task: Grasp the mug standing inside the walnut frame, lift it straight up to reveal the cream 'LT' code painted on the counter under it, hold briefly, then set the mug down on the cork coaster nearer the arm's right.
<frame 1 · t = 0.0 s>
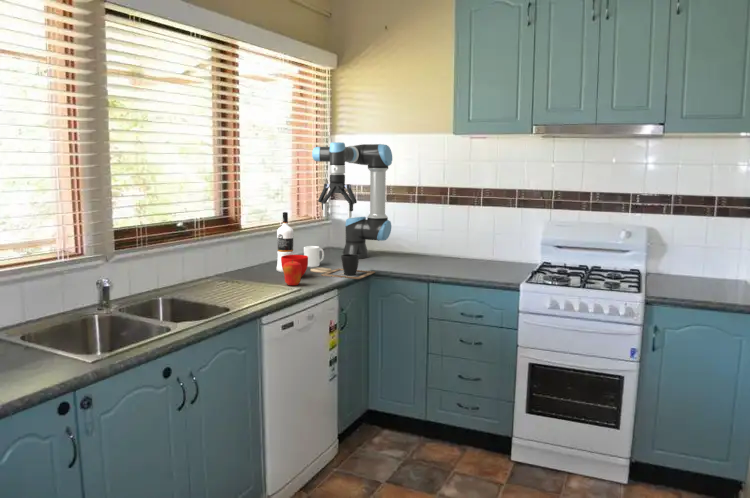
hand: (337, 217, 311), 28 cm above the worktop, fingers open, 13 cm apart
vodka: (285, 271, 318), on the worktop
code board: (348, 274, 311), on the worktop
apple: (292, 285, 284), on the worktop
mug: (348, 274, 311), on the worktop, touching code board
coaster: (321, 270, 320), on the worktop
cup: (314, 265, 335), on the worktop
ceramic cup: (296, 276, 304), on the worktop
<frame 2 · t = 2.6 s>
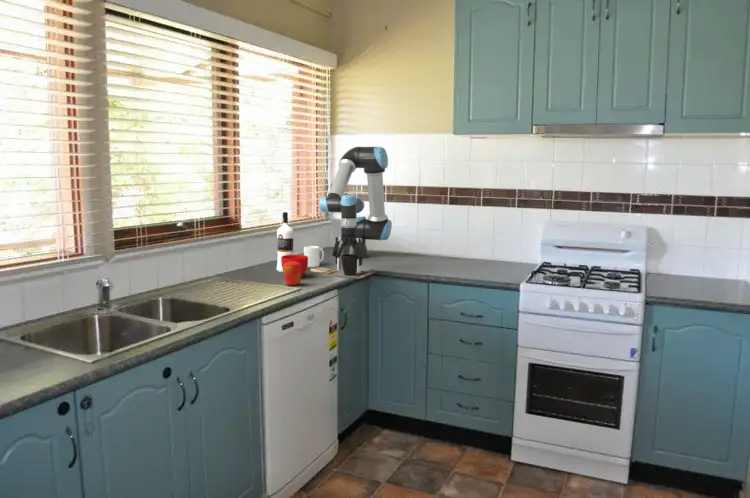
hand: (348, 271, 311), 1 cm above the worktop, fingers closed on mug, 10 cm apart
mug: (348, 274, 311), on the worktop, touching code board, gripper
everything else where it was.
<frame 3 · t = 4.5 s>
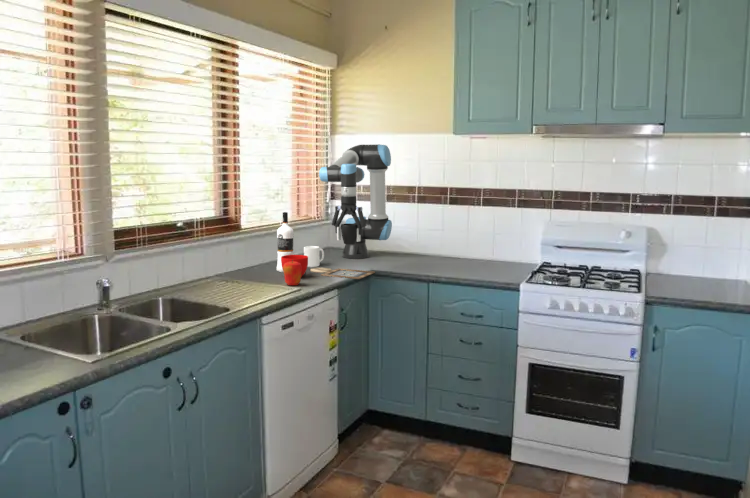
hand: (348, 240, 309), 17 cm above the worktop, fingers closed on mug, 10 cm apart
mug: (347, 243, 310), point 15 cm above the worktop, touching gripper
everything else where it was.
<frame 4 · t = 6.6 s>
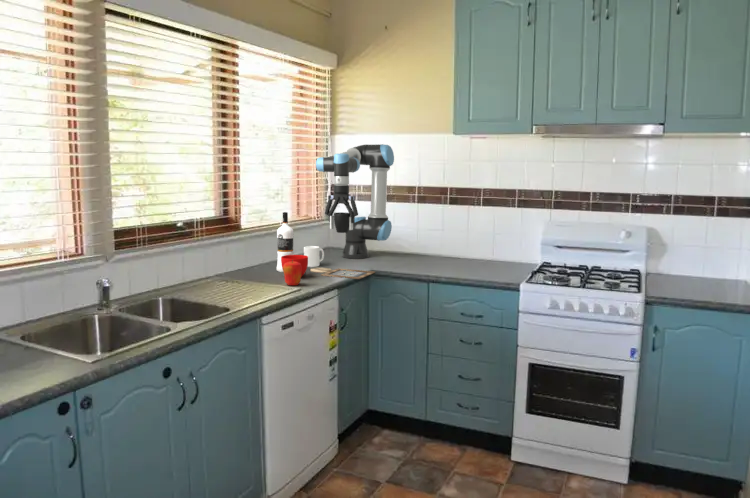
hand: (341, 229, 314), 22 cm above the worktop, fingers closed on mug, 10 cm apart
mug: (340, 232, 315), point 20 cm above the worktop, touching gripper
everything else where it was.
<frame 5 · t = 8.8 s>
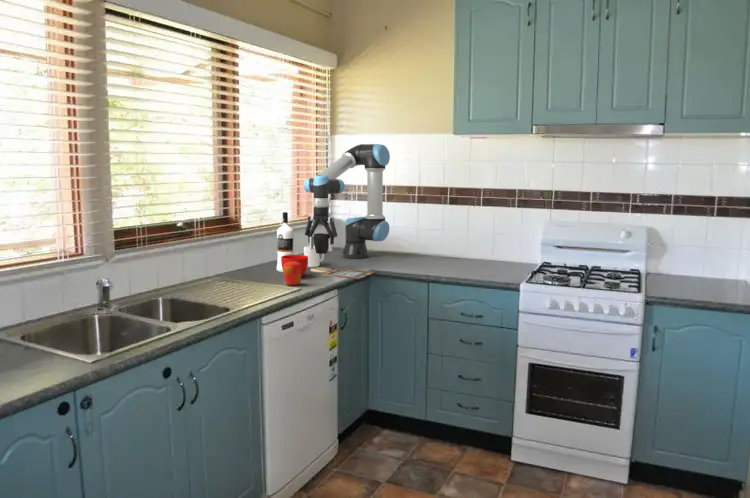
hand: (320, 250, 318), 11 cm above the worktop, fingers closed on mug, 10 cm apart
mug: (320, 252, 318), point 9 cm above the worktop, touching gripper
everything else where it was.
when the fingers open (3 cm above the worktop, at t = 10.7 s): mug drops 1 cm, resting on coaster.
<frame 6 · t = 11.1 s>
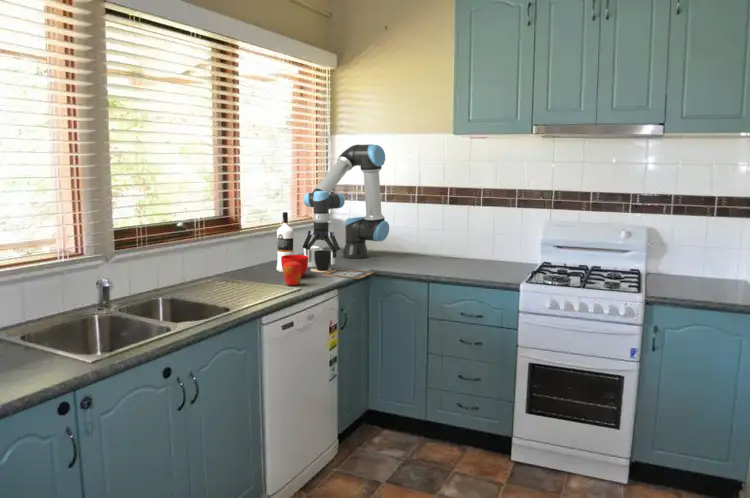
hand: (321, 263, 319), 4 cm above the worktop, fingers open, 13 cm apart
mug: (321, 269, 320), resting on coaster
everything else where it was.
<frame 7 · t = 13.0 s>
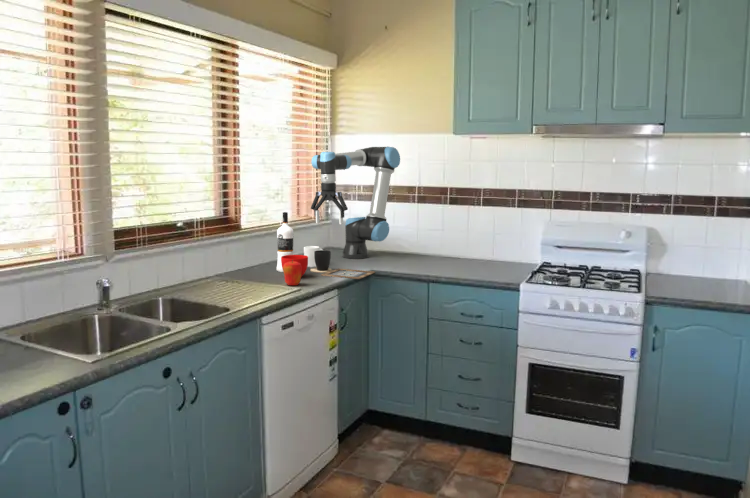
hand: (329, 223, 323), 23 cm above the worktop, fingers open, 13 cm apart
nothing on the worktop moved.
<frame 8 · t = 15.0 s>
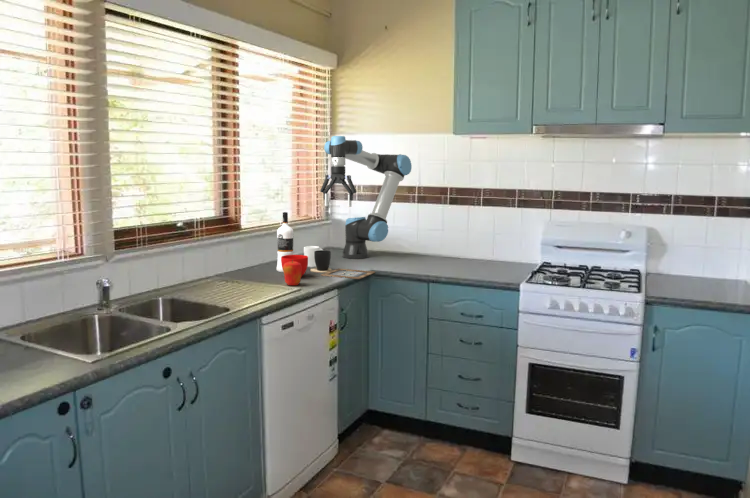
hand: (338, 206, 331), 32 cm above the worktop, fingers open, 13 cm apart
nothing on the worktop moved.
at the end: mug 0.3 cm from the coaster (horizontally); mug tilted 0°; the gripper is holding nothing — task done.
